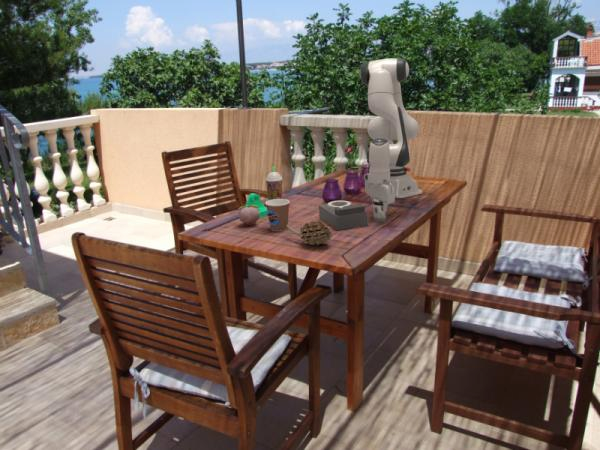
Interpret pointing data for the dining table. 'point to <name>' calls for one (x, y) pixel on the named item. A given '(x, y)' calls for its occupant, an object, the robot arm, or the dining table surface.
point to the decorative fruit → (248, 214)
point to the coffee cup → (278, 214)
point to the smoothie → (274, 185)
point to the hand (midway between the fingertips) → (379, 209)
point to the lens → (378, 211)
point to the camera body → (343, 215)
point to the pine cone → (313, 232)
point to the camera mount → (255, 200)
